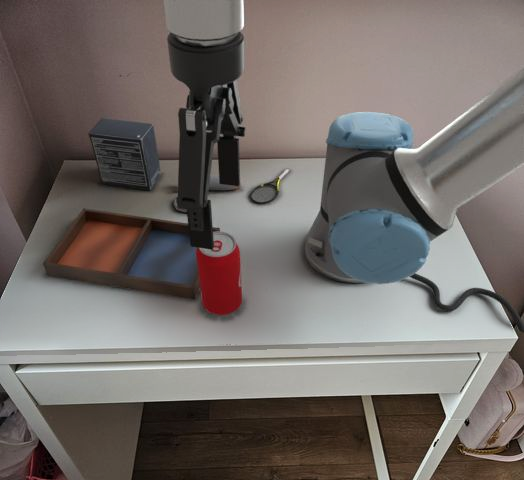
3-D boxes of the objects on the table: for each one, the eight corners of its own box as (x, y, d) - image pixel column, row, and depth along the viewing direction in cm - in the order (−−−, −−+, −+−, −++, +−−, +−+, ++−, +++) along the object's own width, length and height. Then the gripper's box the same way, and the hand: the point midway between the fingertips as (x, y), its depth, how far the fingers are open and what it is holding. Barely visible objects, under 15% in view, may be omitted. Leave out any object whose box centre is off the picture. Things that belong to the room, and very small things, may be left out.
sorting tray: (220, 239, 91) (220, 227, 89) (195, 300, 81) (193, 288, 79) (86, 219, 94) (83, 208, 92) (47, 275, 85) (42, 264, 83)
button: (199, 193, 99) (198, 188, 98) (205, 209, 96) (204, 203, 95) (171, 198, 98) (170, 192, 97) (177, 214, 95) (176, 208, 94)
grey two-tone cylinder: (183, 177, 101) (183, 192, 101) (181, 171, 98) (181, 187, 98) (240, 177, 101) (240, 193, 101) (240, 172, 98) (240, 188, 98)
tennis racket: (244, 200, 98) (267, 208, 97) (244, 197, 98) (267, 204, 96) (276, 168, 105) (298, 174, 104) (276, 164, 105) (298, 171, 103)
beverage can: (244, 291, 83) (242, 230, 73) (239, 320, 79) (236, 259, 69) (205, 288, 83) (198, 227, 74) (199, 317, 79) (190, 256, 70)
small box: (163, 173, 104) (155, 122, 96) (151, 191, 100) (142, 139, 92) (113, 166, 105) (101, 115, 97) (100, 184, 101) (86, 133, 93)
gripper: (203, -14, 59) (214, 158, 75) (121, 82, 43) (157, 272, 60) (268, -8, 58) (264, 164, 74) (207, 92, 42) (220, 282, 59)
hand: (217, 213), depth 67 cm, fingers open, 13 cm apart
